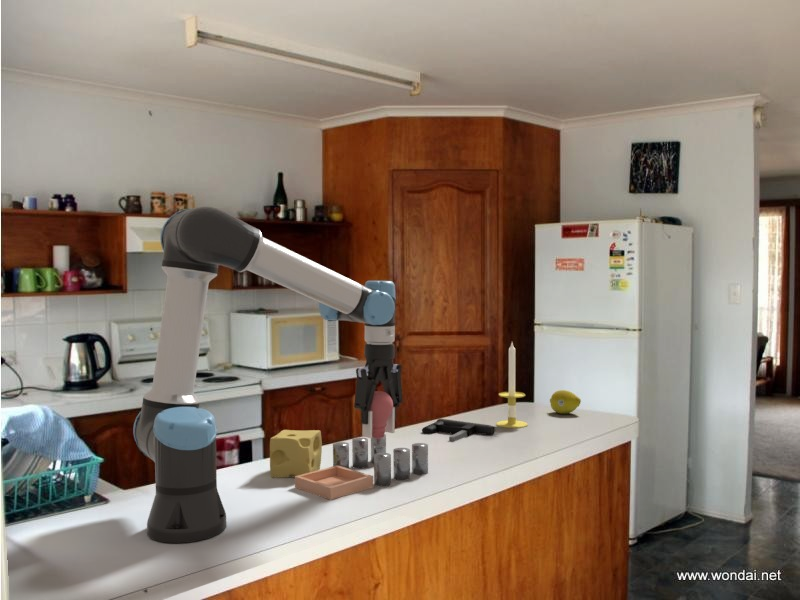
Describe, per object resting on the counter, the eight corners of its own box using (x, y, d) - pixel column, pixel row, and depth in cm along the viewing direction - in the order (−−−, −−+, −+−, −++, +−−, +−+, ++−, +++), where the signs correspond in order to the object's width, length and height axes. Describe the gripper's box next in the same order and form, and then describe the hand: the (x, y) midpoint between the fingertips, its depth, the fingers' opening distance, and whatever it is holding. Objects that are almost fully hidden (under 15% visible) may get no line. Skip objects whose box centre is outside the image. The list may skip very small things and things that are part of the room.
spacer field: (382, 487, 175) (382, 458, 174) (329, 471, 188) (329, 444, 188) (431, 472, 187) (431, 444, 186) (378, 458, 200) (378, 432, 200)
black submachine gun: (471, 437, 215) (496, 423, 228) (413, 428, 226) (440, 416, 239) (472, 448, 215) (497, 434, 229) (413, 439, 227) (440, 426, 240)
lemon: (544, 413, 257) (544, 390, 257) (556, 409, 263) (556, 387, 262) (572, 417, 250) (572, 394, 249) (584, 414, 255) (584, 390, 255)
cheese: (309, 480, 181) (309, 439, 181) (267, 477, 183) (266, 437, 183) (322, 468, 191) (322, 429, 191) (282, 466, 194) (282, 428, 193)
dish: (330, 499, 166) (330, 488, 166) (294, 487, 175) (294, 476, 175) (373, 486, 176) (373, 475, 175) (337, 475, 185) (337, 465, 184)
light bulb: (398, 439, 187) (399, 391, 186) (378, 443, 182) (379, 394, 181) (378, 434, 192) (379, 387, 191) (358, 438, 187) (358, 390, 186)
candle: (496, 420, 246) (496, 339, 244) (527, 421, 244) (527, 339, 243) (495, 427, 236) (496, 342, 234) (528, 428, 234) (528, 342, 233)
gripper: (359, 346, 176) (358, 443, 177) (418, 341, 190) (417, 431, 191) (339, 344, 181) (338, 438, 182) (397, 339, 195) (396, 426, 196)
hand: (378, 434), depth 187 cm, fingers closed on light bulb, 7 cm apart
